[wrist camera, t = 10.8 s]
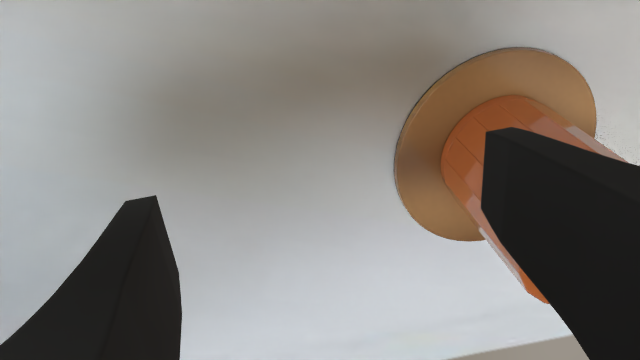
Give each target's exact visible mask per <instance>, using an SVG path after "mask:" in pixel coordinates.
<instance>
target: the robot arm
mask: <svg viewBox="0 0 640 360" xmlns="http://www.w3.org/2000/svg"><path fill="white" fill-rule="evenodd" d="M481 210H482V212H483V214H484V215H485V217H486V219H487V221H488V223H489V224H490V226H491V228H492V230H493V231H494V233H495V234H496V236H497V238H498V239H499V241H500V243H501V244H502V245H503V246H504V248H505V249H506V250H507V252H508V253H509V254H510V255H511V257H512V258H513V259H514V260H515V262H516V263H517V264H518V265H519V267H520V268H521V269H522V270H523V272H524V273H525V274H526V275H527V276H528V278H529V279H530V280H531V281H532V283H533V284H534V285H535V286H536V287H537V289H538V290H539V291H540V292H541V294H542V295H543V296H544V297H545V298H546V300H547V301H548V302H549V303H550V305H551V306H552V307H553V308H554V309H555V311H556V312H557V313H558V314H559V316H560V317H561V318H562V320H563V321H564V322H565V324H566V325H567V326H568V328H569V329H570V330H571V332H572V333H573V335H574V336H575V338H576V339H577V341H578V342H579V344H580V345H581V347H582V349H583V350H584V352H585V353H586V355H587V356H588V358H589V359H590V360H640V166H637V165H633V164H630V163H626V162H623V161H620V160H617V159H613V158H610V157H607V156H604V155H601V154H598V153H594V152H591V151H588V150H585V149H582V148H579V147H577V146H574V145H571V144H568V143H565V142H562V141H559V140H556V139H553V138H550V137H547V136H544V135H541V134H537V133H534V132H531V131H527V130H524V129H519V128H515V127H508V128H503V129H497V130H492V131H487V132H486V135H485V149H484V164H483V179H482V193H481ZM181 323H182V307H181V293H180V281H179V272H178V268H177V265H176V261H175V258H174V255H173V251H172V248H171V244H170V241H169V238H168V234H167V231H166V227H165V224H164V221H163V217H162V214H161V211H160V207H159V204H158V200H157V197H156V195H155V196H150V197H145V198H139V199H134V200H129V201H125V203H124V204H123V205H122V207H121V208H120V209H119V211H118V212H117V213H116V215H115V216H114V218H113V219H112V220H111V222H110V223H109V225H108V226H107V227H106V229H105V230H104V232H103V233H102V234H101V236H100V237H99V239H98V240H97V241H96V243H95V244H94V245H93V247H92V248H91V249H90V251H89V252H88V253H87V255H86V256H85V257H84V259H83V260H82V261H81V262H80V264H79V265H78V266H77V267H76V268H75V269H74V271H73V272H72V273H71V274H70V275H69V277H68V278H67V279H66V280H65V281H64V282H63V284H62V285H61V286H60V287H59V288H58V290H57V291H56V292H55V293H54V294H53V295H52V296H51V297H50V298H49V300H48V301H47V302H46V303H45V304H44V305H43V306H42V307H41V308H40V309H39V310H38V311H37V312H36V313H35V314H34V315H33V316H32V317H31V318H30V319H29V320H28V321H27V322H26V323H25V324H24V325H22V326H21V327H20V328H19V329H18V330H17V331H16V332H15V333H14V334H13V335H12V336H11V337H10V338H9V339H7V340H6V341H5V342H4V343H3V344H1V345H0V360H179V359H180V342H181Z"/></svg>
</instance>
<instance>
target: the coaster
mask: <svg viewBox="0 0 640 360" xmlns="http://www.w3.org/2000/svg"><path fill="white" fill-rule="evenodd" d="M508 95H521V96H527V97H530V98H533V99H535V100H537V101H539V102H540V103H543V104H545V105H546V106H548V107H549V108H550V109H552V110H553V111H555V112H556V113H558V114H559V115H561V116H562V117H563V118H565V119H566V120H568V121H569V122H571V123H572V124H574V125H575V126H576V127H578V128H579V129H581V130H582V131H584V132H585V133H586V134H588V135H589V136H591V137H592V138H594V137H595V130H596V108H595V103H594V98H593V95H592V93H591V90H590V88H589V86H588V84H587V82H586V80H585V79H584V77H583V76H582V75H581V74H580V73H579V71H578V70H577V69H576V68H574V67H573V66H572V65H571V64H570V63H568V62H567V61H565V60H563V59H561V58H560V57H558V56H556V55H554V54H551V53H549V52H546V51H543V50H538V49H533V48H517V47H516V48H507V49H500V50H496V51H492V52H488V53H485V54H482V55H480V56H477V57H475V58H472V59H470V60H468V61H466V62H465V63H463V64H461V65H459V66H457V67H456V68H454V69H453V70H451V71H450V72H449V73H447V74H446V75H445V76H443V77H442V78H441V79H440V80H439V81H437V82H436V83H435V84H434V85H433V86H432V87H431V88H430V89H429V90H428V91H427V92H426V93H425V94H424V96H423V97H422V98H421V99H420V101H419V102H418V103H417V105H416V106H415V107H414V109H413V111H412V112H411V114H410V116H409V117H408V119H407V121H406V123H405V125H404V128H403V130H402V132H401V135H400V138H399V141H398V144H397V149H396V154H395V164H394V174H395V183H396V187H397V190H398V194H399V196H400V198H401V201H402V203H403V205H404V206H405V208H406V209H407V211H408V212H409V214H410V215H411V216H412V218H413V219H414V220H415V221H416V222H417V223H418V224H419V225H421V226H422V227H424V228H425V229H426V230H428V231H430V232H432V233H434V234H436V235H438V236H441V237H444V238H447V239H452V240H457V241H481V240H486V239H485V238H484V237H483V235H482V234H481V233H480V232H479V230H478V229H477V228H476V227H475V225H474V224H473V223H472V221H471V220H470V219H469V218H468V216H467V215H466V214H465V213H464V211H463V210H462V209H461V208H460V206H459V205H458V204H457V202H456V201H455V200H454V199H453V197H452V195H451V193H450V192H449V191H448V189H447V188H446V186H445V184H444V182H443V179H442V175H441V166H440V164H441V156H442V151H443V148H444V145H445V142H446V140H447V138H448V136H449V135H450V133H451V131H452V130H453V128H454V127H455V126H456V125H457V123H458V122H459V121H460V120H461V119H462V118H463V117H464V116H465V115H466V114H467V113H469V112H470V111H471V110H472V109H474V108H475V107H477V106H479V105H480V104H482V103H484V102H486V101H489V100H491V99H494V98H497V97H501V96H508Z"/></svg>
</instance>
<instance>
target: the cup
mask: <svg viewBox="0 0 640 360" xmlns="http://www.w3.org/2000/svg"><path fill="white" fill-rule="evenodd" d="M508 127H515V128H519V129H524V130H527V131H531V132H534V133H537V134H541V135H544V136H547V137H550V138H553V139H556V140H559V141H562V142H565V143H568V144H571V145H574V146H577V147H579V148H582V149H585V150H588V151H591V152H594V153H598V154H601V155H604V156H607V157H610V158H613V159H617V160H620V161H623V162H626V163H628V162H627V161H625V160H624V159H623V158H621V157H620V156H618V155H617V154H615V153H614V152H612V151H611V150H610V149H608V148H607V147H605V146H604V145H602V144H601V143H599V142H598V141H597V140H595V139H594V138H592V137H591V136H589V135H588V134H586V133H585V132H584V131H582V130H581V129H579V128H578V127H576V126H575V125H574V124H572V123H571V122H569V121H568V120H566V119H565V118H563V117H562V116H561V115H559V114H558V113H556V112H555V111H553V110H552V109H550V108H549V107H548V106H546V105H545V104H543V103H540V102H539V101H537V100H535V99H533V98H530V97H527V96H521V95H508V96H501V97H497V98H494V99H491V100H489V101H486V102H484V103H482V104H480V105H479V106H477V107H475V108H474V109H472V110H471V111H470V112H469V113H467V114H466V115H465V116H464V117H463V118H462V119H461V120H460V121H459V122H458V123H457V125H456V126H455V127H454V128H453V130H452V131H451V133H450V135H449V136H448V138H447V140H446V142H445V145H444V148H443V151H442V156H441V164H440V166H441V175H442V179H443V182H444V184H445V186H446V188H447V189H448V191H449V192H450V193H451V195H452V197H453V199H454V200H455V201H456V202H457V204H458V205H459V206H460V208H461V209H462V210H463V211H464V213H465V214H466V215H467V216H468V218H469V219H470V220H471V221H472V223H473V224H474V225H475V227H476V228H477V229H478V230H479V232H480V233H481V234H482V235H483V237H484V238H485V239H486V240H487V242H488V243H489V244H490V246H491V247H492V248H493V249H494V251H495V252H496V253H497V254H498V256H499V257H500V258H501V259H502V261H503V262H504V263H505V265H506V266H507V267H508V268H509V270H510V271H511V272H512V273H513V275H514V276H515V277H516V278H517V280H518V281H519V282H520V284H521V285H522V286H523V287H524V289H525V290H526V291H527V292H528V293H529V294H531V295H533V296H534V297H536V298H537V299H539V300H540V301H542V302H544V303H546V304H550V303H549V302H548V301H547V300H546V298H545V297H544V296H543V295H542V294H541V292H540V291H539V290H538V289H537V287H536V286H535V285H534V284H533V283H532V281H531V280H530V279H529V278H528V276H527V275H526V274H525V273H524V272H523V270H522V269H521V268H520V267H519V265H518V264H517V263H516V262H515V260H514V259H513V258H512V257H511V255H510V254H509V253H508V252H507V250H506V249H505V248H504V246H503V245H502V244H501V243H500V241H499V239H498V238H497V236H496V234H495V233H494V231H493V230H492V228H491V226H490V224H489V223H488V221H487V219H486V217H485V215H484V214H483V212H482V210H481V193H482V179H483V164H484V149H485V135H486V132H487V131H492V130H497V129H503V128H508Z"/></svg>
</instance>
